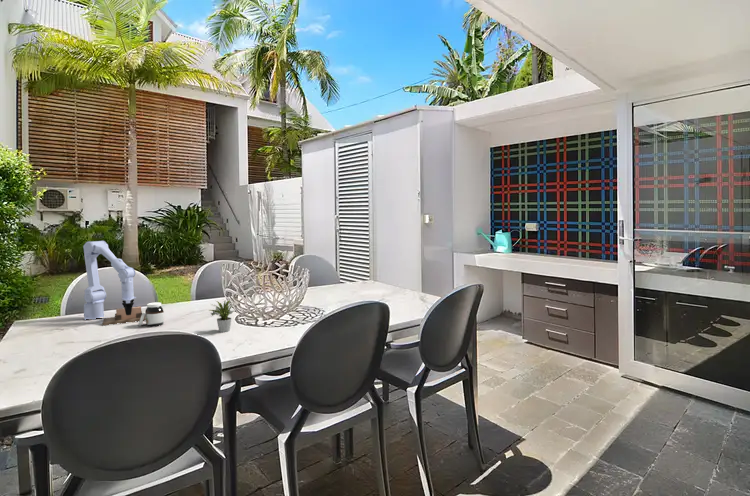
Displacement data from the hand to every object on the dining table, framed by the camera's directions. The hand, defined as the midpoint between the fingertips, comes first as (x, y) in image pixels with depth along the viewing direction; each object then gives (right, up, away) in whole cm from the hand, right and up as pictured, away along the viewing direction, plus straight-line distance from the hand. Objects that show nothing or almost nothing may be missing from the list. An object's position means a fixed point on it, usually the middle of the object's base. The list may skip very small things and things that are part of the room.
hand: (128, 313), depth 236 cm
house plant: (+60, -5, -20) cm, 64 cm away
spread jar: (+18, -5, -10) cm, 21 cm away
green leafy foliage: (+46, -2, +33) cm, 56 cm away
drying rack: (0, -4, 0) cm, 4 cm away
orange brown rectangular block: (0, -2, 0) cm, 2 cm away
